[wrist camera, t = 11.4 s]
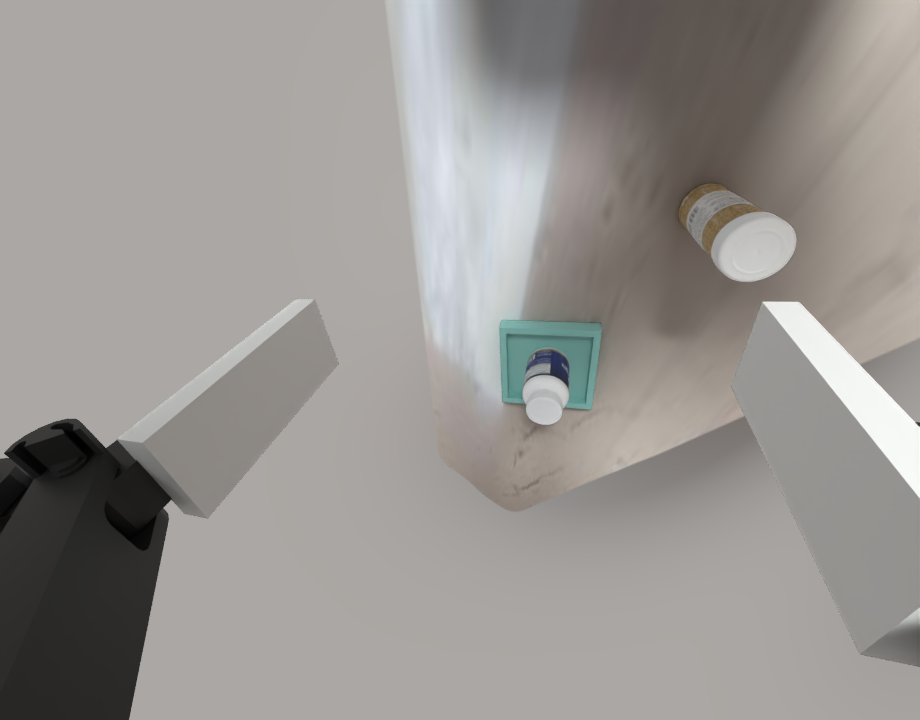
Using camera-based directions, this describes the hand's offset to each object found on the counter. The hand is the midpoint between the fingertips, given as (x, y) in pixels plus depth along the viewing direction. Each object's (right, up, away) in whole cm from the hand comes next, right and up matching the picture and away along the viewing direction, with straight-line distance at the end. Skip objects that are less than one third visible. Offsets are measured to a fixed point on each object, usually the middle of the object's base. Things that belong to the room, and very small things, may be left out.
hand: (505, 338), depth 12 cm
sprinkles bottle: (+22, +14, +25) cm, 36 cm away
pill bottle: (+10, -1, +38) cm, 40 cm away
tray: (+10, -1, +39) cm, 40 cm away
